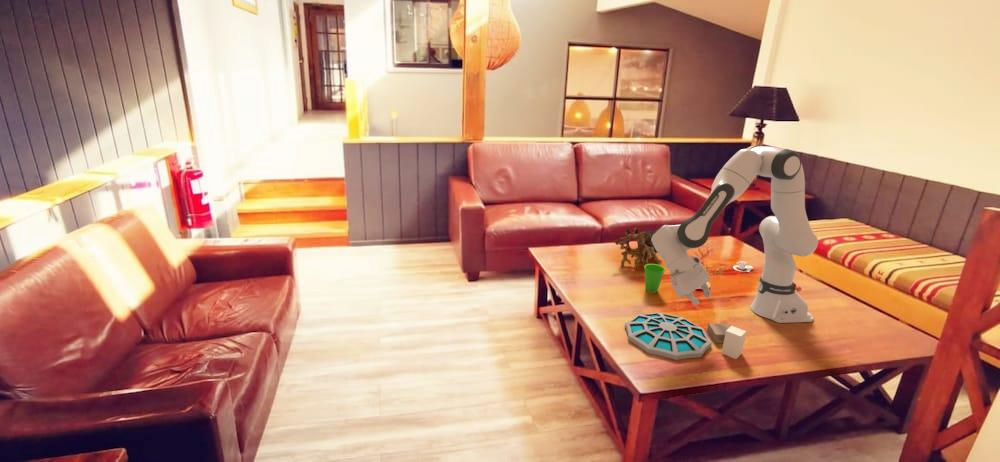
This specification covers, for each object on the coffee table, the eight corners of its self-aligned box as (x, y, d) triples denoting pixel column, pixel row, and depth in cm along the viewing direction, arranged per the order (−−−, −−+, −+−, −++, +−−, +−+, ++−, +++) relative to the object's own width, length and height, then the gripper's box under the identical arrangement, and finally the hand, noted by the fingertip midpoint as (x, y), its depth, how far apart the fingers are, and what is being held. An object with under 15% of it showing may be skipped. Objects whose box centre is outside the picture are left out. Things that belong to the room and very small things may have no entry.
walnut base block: (728, 332, 183) (730, 324, 182) (736, 344, 176) (738, 335, 175) (706, 331, 184) (708, 323, 183) (713, 342, 176) (715, 334, 175)
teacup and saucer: (753, 269, 243) (754, 261, 242) (751, 274, 237) (752, 266, 235) (734, 265, 248) (735, 257, 246) (731, 270, 241) (733, 262, 240)
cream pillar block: (727, 347, 173) (731, 325, 170) (741, 353, 170) (746, 331, 167) (721, 353, 170) (725, 330, 167) (736, 359, 167) (740, 336, 164)
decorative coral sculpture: (671, 242, 255) (675, 250, 228) (645, 273, 261) (645, 286, 234) (633, 214, 259) (632, 220, 232) (608, 246, 265) (604, 255, 237)
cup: (663, 295, 212) (666, 272, 208) (641, 293, 213) (644, 270, 210) (660, 287, 220) (664, 264, 216) (640, 284, 222) (643, 262, 218)
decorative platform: (621, 314, 196) (622, 303, 194) (695, 320, 193) (697, 308, 191) (632, 357, 167) (633, 345, 165) (720, 365, 164) (722, 352, 162)
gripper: (675, 270, 167) (697, 306, 164) (700, 256, 181) (722, 288, 178) (661, 278, 172) (683, 312, 168) (687, 263, 185) (708, 295, 182)
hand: (703, 300), depth 173 cm, fingers open, 8 cm apart
